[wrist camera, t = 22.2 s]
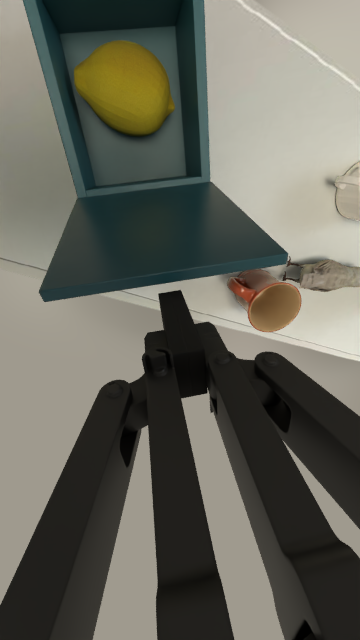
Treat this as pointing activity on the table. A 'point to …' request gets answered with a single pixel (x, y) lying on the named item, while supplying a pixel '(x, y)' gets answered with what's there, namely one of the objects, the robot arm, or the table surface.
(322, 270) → the decorative bird
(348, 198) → the mug
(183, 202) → the lid
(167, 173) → the teal box
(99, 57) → the lemon
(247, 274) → the mug
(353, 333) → the table surface
